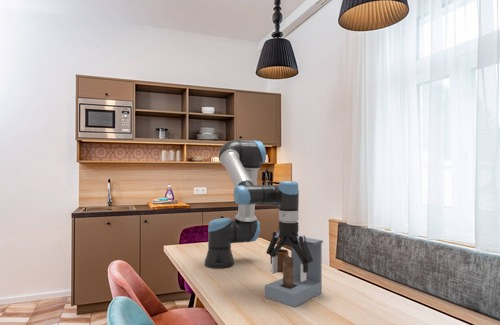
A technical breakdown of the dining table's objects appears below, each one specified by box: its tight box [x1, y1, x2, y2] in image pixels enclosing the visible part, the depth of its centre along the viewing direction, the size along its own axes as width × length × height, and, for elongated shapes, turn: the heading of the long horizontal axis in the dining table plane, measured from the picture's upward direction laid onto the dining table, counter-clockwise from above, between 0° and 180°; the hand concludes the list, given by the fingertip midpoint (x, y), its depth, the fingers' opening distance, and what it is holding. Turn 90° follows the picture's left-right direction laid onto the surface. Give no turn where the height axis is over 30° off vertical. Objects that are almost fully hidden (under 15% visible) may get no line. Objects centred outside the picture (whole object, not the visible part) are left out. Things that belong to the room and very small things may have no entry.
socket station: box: [264, 237, 324, 308], centre depth 133 cm, size 15×18×21 cm
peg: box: [282, 256, 294, 289], centre depth 130 cm, size 4×4×15 cm
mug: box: [275, 248, 290, 273], centre depth 164 cm, size 12×8×9 cm, turn 22°
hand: (288, 276), depth 130 cm, fingers open, 13 cm apart
